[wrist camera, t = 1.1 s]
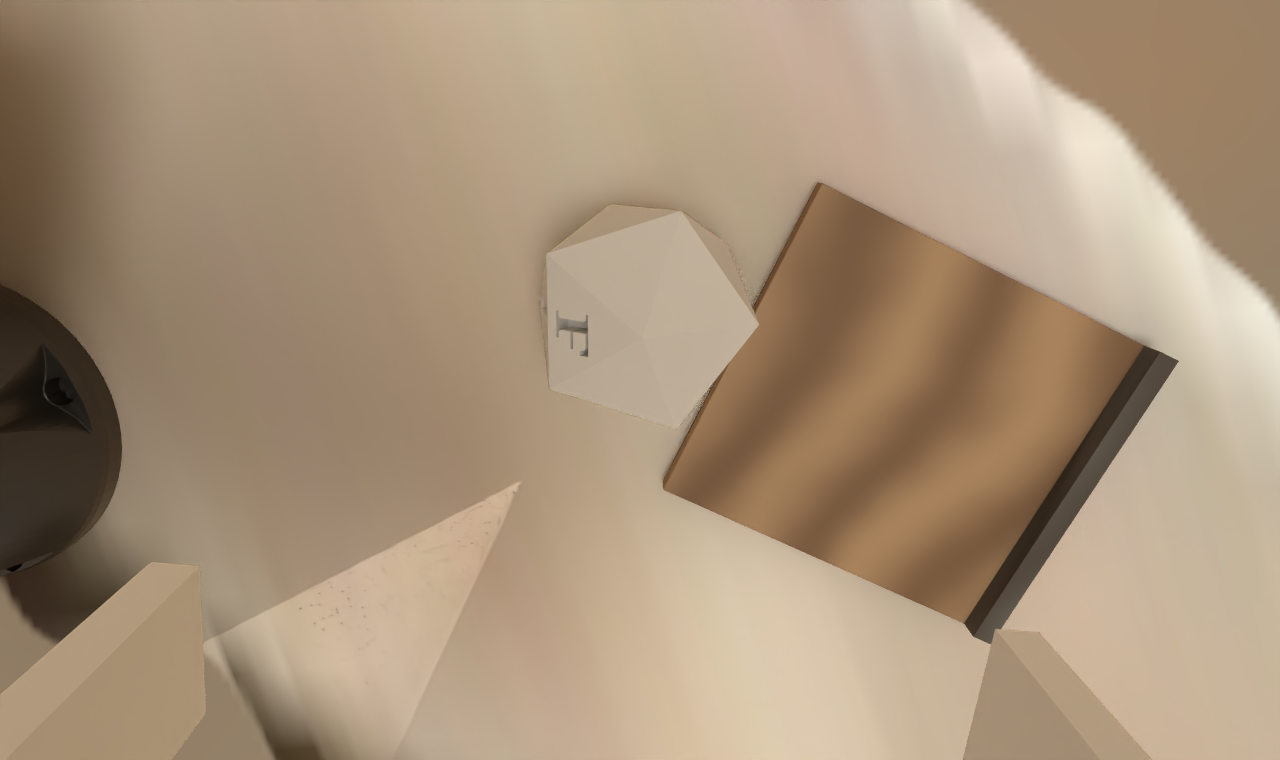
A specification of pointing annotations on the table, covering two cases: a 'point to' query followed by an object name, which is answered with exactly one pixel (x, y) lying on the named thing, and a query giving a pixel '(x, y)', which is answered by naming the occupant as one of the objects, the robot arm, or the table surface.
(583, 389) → the die
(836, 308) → the board
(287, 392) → the table surface
